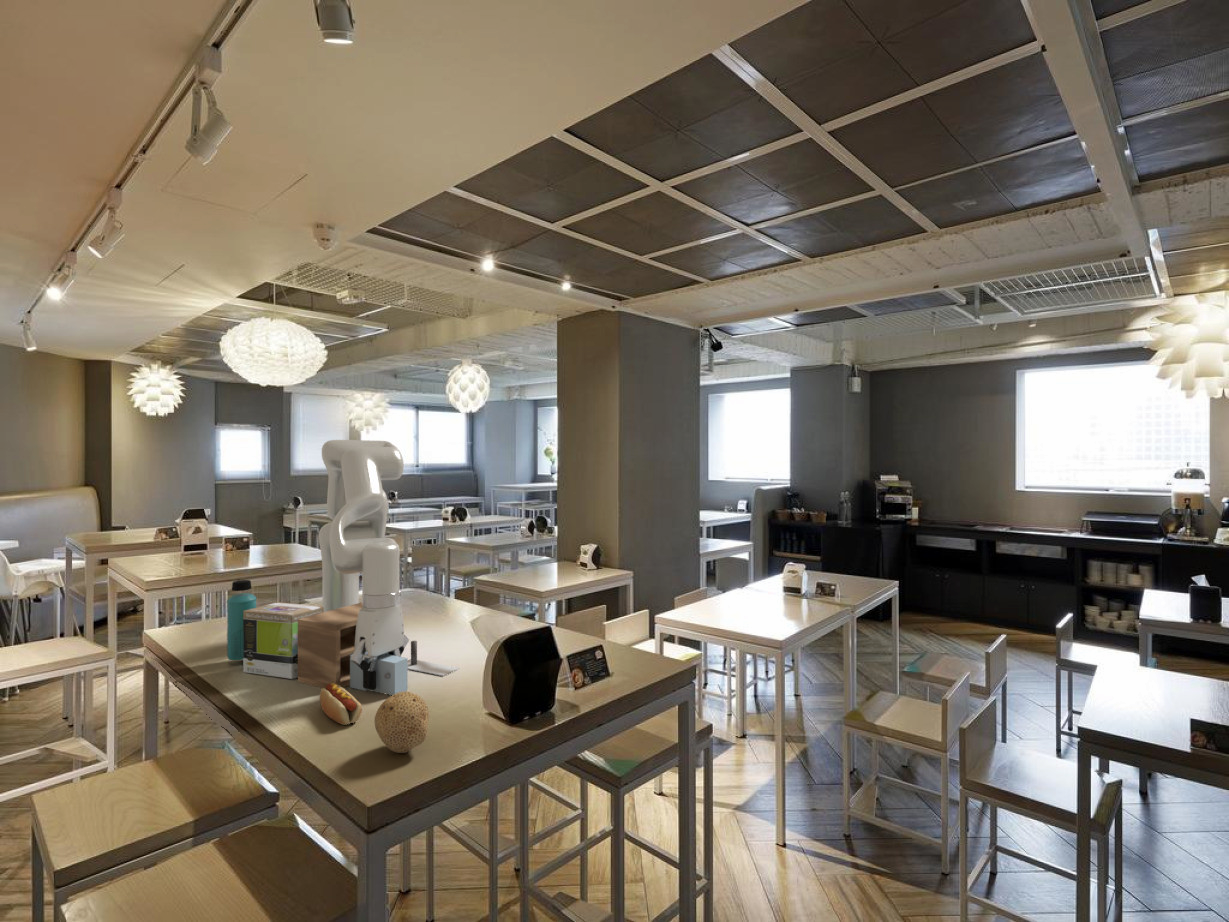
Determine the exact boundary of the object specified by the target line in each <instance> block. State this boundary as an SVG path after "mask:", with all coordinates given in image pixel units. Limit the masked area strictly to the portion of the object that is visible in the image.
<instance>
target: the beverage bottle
mask: <svg viewBox="0 0 1229 922" xmlns="http://www.w3.org/2000/svg"><path fill="white" fill-rule="evenodd" d="M251 589H252V582H251V580H249V579H239V580H234V581H232V584H231V591H232V592H242V591H249V590H251ZM226 603H227V605H226V607H227V609H226V611H227V614H226V616H227V617H226V618H227V621H226V622H227V624H226V625H227V628H226V631H227V632H226V656H227V658H228V660H230V661H243V611H245V610H249V609H253V608H257V596H255V595H254V594H253V593H251V592H243V593H235V594H232V595H231V596H230V597H228V599H227V600H226Z"/></svg>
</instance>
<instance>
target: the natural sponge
mask: <svg viewBox="0 0 1229 922" xmlns="http://www.w3.org/2000/svg"><path fill="white" fill-rule="evenodd" d="M429 721H430V710H429V707H428V704H427V703H426V701H425V699H423V698H422V697H421V696H419V695H418V694H416V693H414V692H411V691H405V692H398V693H396V694H394V695H392V696H391V695H389V697H387V698H386V699H385V700H384V701H383V702H382V703H381V704H380V705H379V707H378V709H377V711H376V713H375V716H374V728H375V730H376V733H377V734H378V737H379V739H380V741H382V743H383V744H384V745H385V746H386V747H387V748H388V749H389V750H390V751H392V752H394V753H397V754H405V753H407V752H409V751H411V750H412V749H414V748H416V747H419V745H422V743H424V742H425V741H426V738H427V735H428V730H429Z"/></svg>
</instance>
